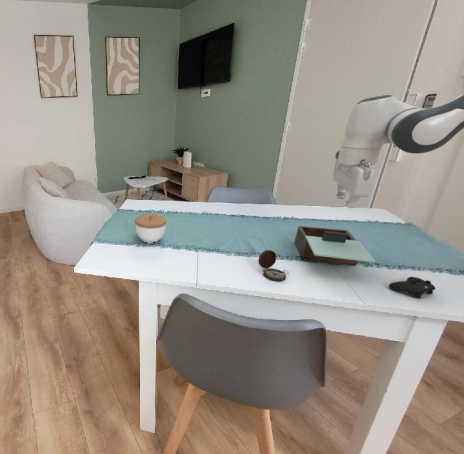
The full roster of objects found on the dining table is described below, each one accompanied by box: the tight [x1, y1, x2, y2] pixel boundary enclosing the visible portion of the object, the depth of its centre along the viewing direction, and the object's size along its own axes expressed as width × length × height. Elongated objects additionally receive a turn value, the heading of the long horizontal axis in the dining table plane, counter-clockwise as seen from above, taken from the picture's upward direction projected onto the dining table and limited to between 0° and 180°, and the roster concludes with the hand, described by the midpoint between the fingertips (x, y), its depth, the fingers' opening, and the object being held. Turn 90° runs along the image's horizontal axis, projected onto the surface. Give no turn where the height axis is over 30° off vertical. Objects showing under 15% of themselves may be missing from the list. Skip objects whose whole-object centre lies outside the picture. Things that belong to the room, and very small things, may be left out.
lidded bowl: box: [134, 213, 168, 244], centre depth 118 cm, size 13×13×11 cm
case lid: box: [305, 231, 376, 263], centre depth 91 cm, size 15×14×4 cm
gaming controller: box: [388, 276, 436, 299], centre depth 81 cm, size 10×5×6 cm
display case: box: [294, 225, 358, 267], centre depth 102 cm, size 15×14×7 cm
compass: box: [257, 249, 290, 282], centre depth 91 cm, size 8×8×7 cm
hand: (344, 202), depth 89 cm, fingers open, 8 cm apart
